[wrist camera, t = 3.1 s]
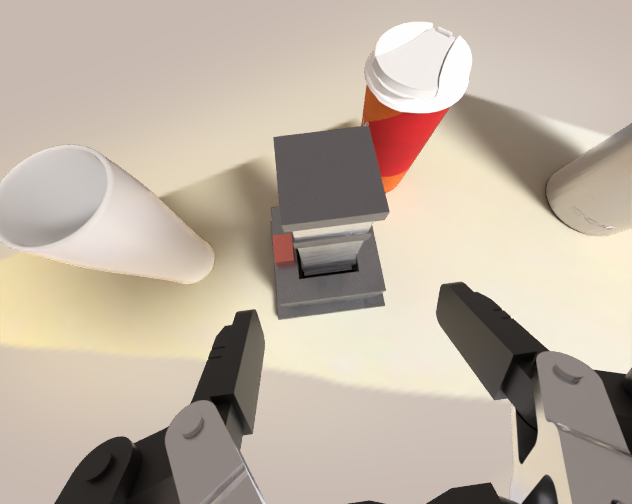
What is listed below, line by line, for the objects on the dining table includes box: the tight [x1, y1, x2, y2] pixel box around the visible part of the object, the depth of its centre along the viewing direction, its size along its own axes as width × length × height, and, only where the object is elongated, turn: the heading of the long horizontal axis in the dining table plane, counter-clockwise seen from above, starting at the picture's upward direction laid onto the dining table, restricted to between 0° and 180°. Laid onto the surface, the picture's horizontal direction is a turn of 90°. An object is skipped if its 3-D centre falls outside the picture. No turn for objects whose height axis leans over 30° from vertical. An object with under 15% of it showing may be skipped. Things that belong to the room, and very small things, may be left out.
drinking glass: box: [0, 144, 215, 284], centre depth 20 cm, size 7×7×15 cm
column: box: [274, 126, 389, 278], centre depth 19 cm, size 5×5×16 cm
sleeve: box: [271, 207, 386, 320], centre depth 23 cm, size 11×11×7 cm
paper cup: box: [361, 22, 472, 193], centre depth 23 cm, size 8×8×14 cm
